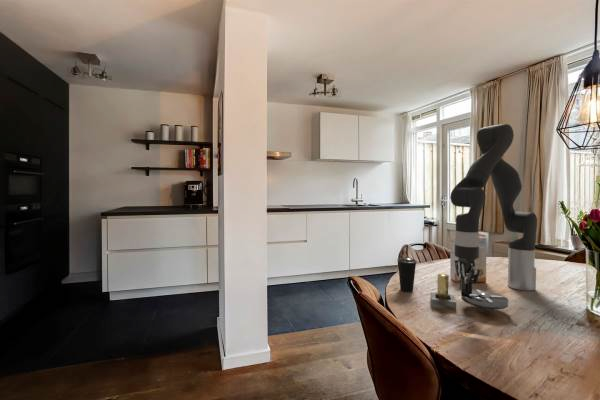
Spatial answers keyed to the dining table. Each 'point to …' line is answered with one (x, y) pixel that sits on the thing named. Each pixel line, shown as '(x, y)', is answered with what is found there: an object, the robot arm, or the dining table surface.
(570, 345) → the dining table surface
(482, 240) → the cracker box
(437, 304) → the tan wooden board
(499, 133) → the robot arm
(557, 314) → the dining table surface
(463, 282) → the handwheel
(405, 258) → the dark tapered cylinder
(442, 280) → the gold metallic cylinder
